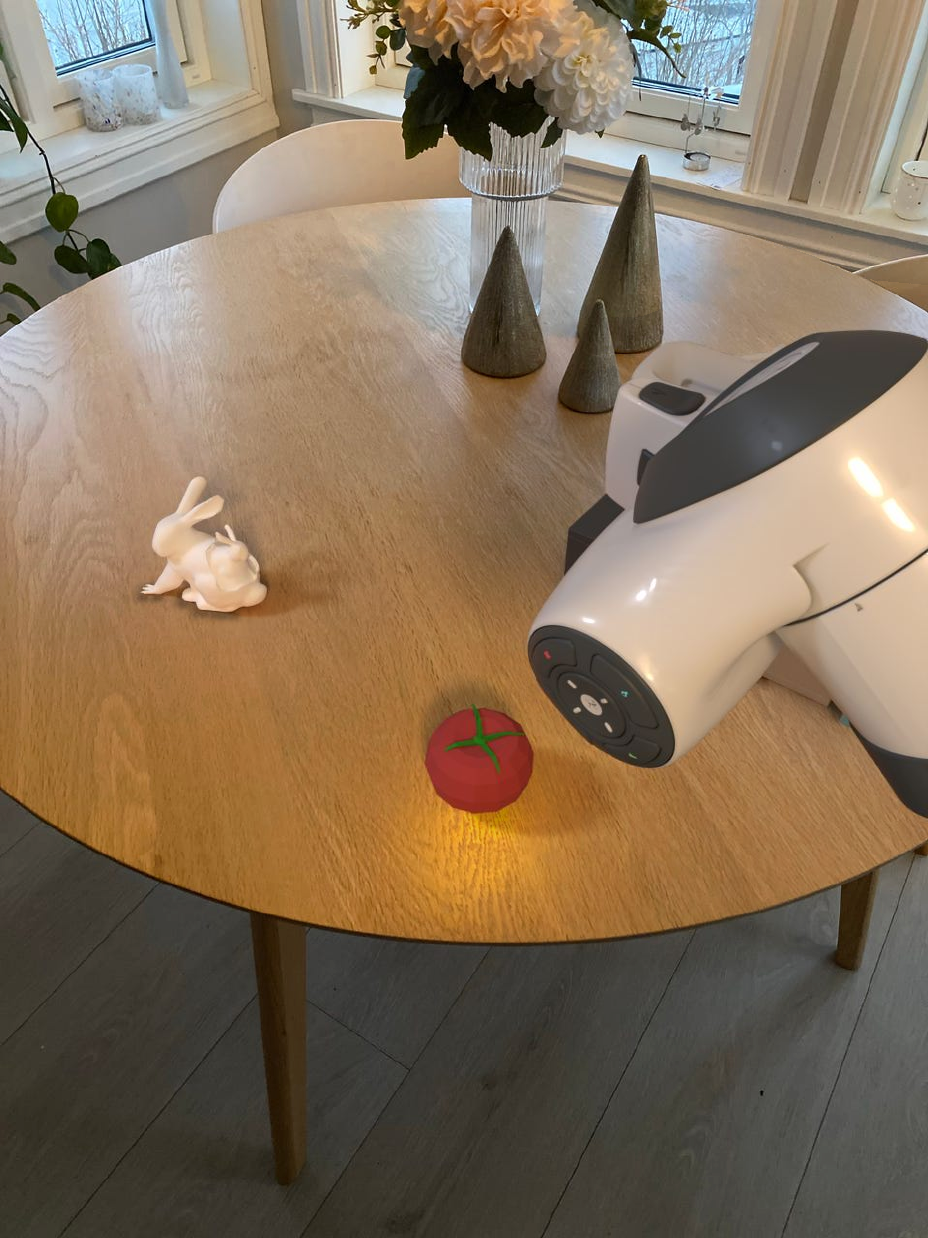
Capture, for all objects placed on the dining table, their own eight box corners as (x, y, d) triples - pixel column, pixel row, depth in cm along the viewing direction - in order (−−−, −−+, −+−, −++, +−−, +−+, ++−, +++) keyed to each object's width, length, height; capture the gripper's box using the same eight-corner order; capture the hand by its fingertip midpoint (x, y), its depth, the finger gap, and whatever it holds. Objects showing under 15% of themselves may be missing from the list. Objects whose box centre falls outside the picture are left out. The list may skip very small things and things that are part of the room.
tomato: (522, 743, 75) (527, 676, 70) (540, 826, 70) (547, 761, 64) (421, 752, 75) (418, 686, 69) (430, 837, 69) (428, 772, 64)
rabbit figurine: (138, 593, 88) (112, 508, 81) (186, 545, 93) (165, 461, 86) (250, 628, 85) (233, 543, 78) (294, 577, 90) (281, 492, 83)
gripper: (1028, 533, 38) (1101, 391, 46) (590, 376, 47) (715, 280, 55) (970, 645, 43) (1046, 497, 51) (578, 482, 51) (696, 378, 60)
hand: (871, 383), depth 53 cm, fingers open, 8 cm apart
